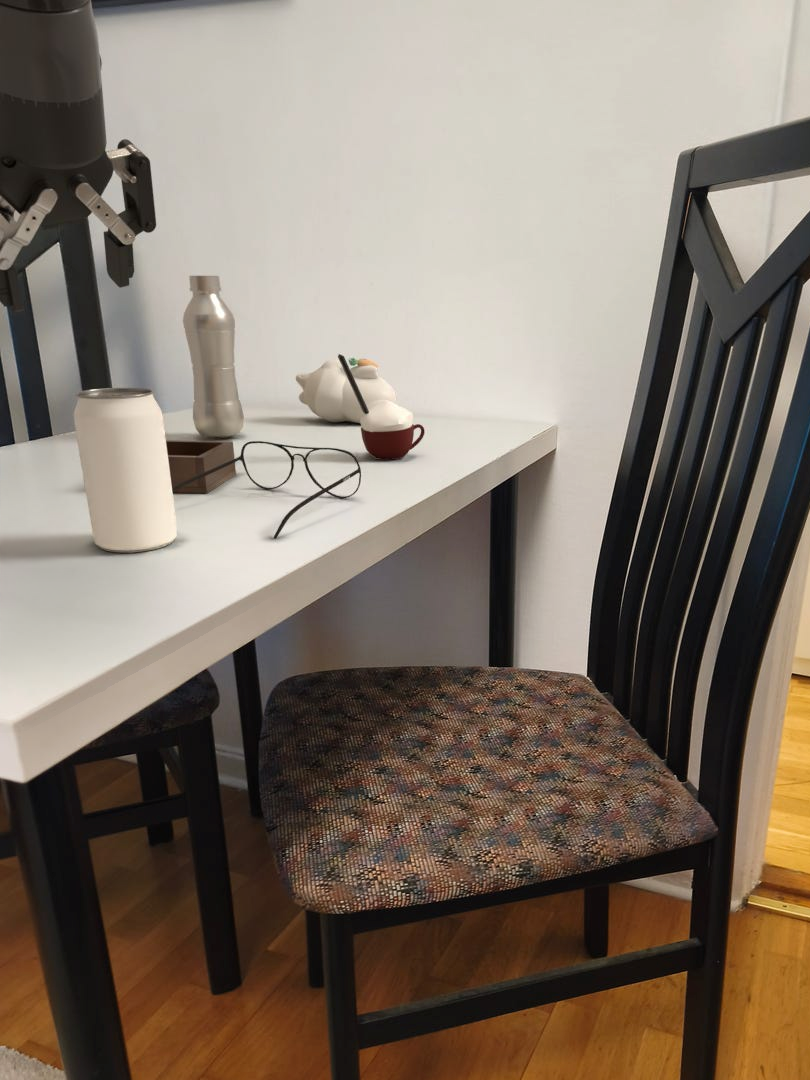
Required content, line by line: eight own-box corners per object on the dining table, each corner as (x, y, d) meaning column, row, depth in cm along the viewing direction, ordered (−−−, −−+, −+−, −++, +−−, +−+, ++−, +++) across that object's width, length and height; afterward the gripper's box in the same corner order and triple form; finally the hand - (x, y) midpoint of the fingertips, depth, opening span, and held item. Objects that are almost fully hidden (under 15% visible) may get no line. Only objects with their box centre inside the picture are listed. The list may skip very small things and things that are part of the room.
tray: (118, 491, 90) (113, 455, 88) (155, 472, 98) (151, 439, 97) (207, 493, 89) (203, 457, 88) (236, 474, 98) (233, 441, 96)
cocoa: (425, 452, 110) (424, 351, 105) (421, 462, 104) (419, 355, 100) (349, 451, 110) (344, 350, 106) (340, 461, 104) (335, 355, 100)
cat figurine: (401, 356, 128) (300, 341, 129) (389, 391, 123) (284, 376, 124) (403, 408, 136) (308, 394, 137) (391, 444, 131) (292, 429, 132)
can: (160, 527, 77) (141, 384, 73) (191, 544, 73) (172, 393, 68) (83, 540, 73) (58, 390, 69) (111, 558, 69) (86, 399, 64)
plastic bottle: (184, 440, 117) (165, 275, 109) (213, 431, 123) (197, 275, 115) (228, 443, 115) (211, 276, 107) (255, 434, 121) (241, 275, 113)
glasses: (366, 500, 87) (361, 450, 85) (279, 558, 75) (270, 501, 73) (246, 486, 92) (238, 438, 90) (146, 537, 80) (134, 484, 78)
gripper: (111, 34, 62) (126, 249, 74) (-110, 47, 54) (-51, 286, 66) (170, 86, 60) (175, 300, 72) (-51, 108, 52) (-2, 344, 64)
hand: (67, 293), depth 69 cm, fingers open, 8 cm apart
